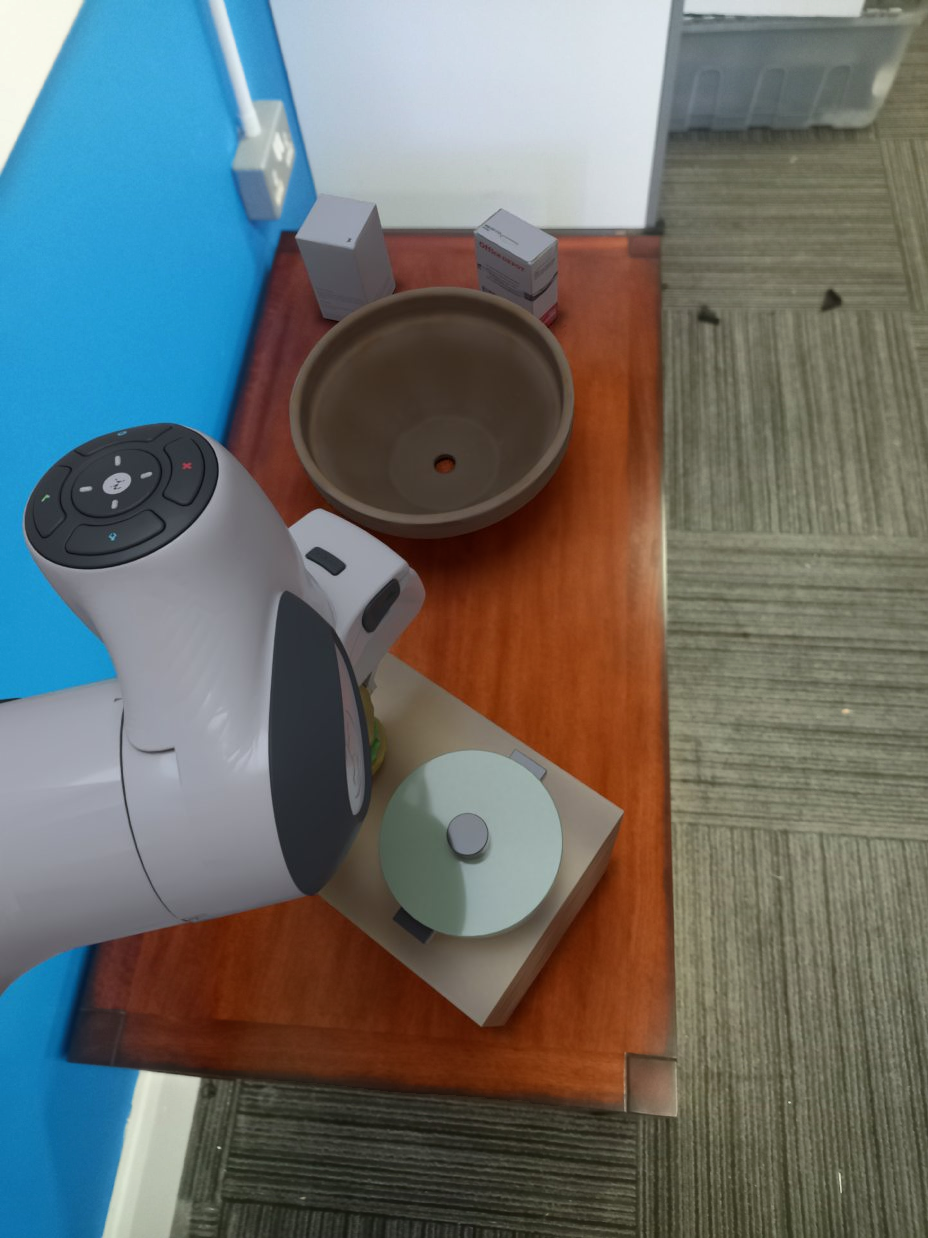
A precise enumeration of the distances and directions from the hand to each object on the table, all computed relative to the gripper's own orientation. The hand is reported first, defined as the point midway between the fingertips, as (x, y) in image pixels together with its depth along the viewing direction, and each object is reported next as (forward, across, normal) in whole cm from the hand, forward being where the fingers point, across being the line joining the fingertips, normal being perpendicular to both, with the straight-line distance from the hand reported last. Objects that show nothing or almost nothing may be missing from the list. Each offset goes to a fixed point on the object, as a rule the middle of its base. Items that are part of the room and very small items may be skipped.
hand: (323, 736), depth 57 cm
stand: (+29, 0, -6) cm, 29 cm away
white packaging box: (+29, +48, +44) cm, 71 cm away
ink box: (+29, +57, +26) cm, 69 cm away
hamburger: (+5, 0, 0) cm, 5 cm away
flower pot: (+29, +34, +20) cm, 49 cm away
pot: (+5, 0, -12) cm, 13 cm away
